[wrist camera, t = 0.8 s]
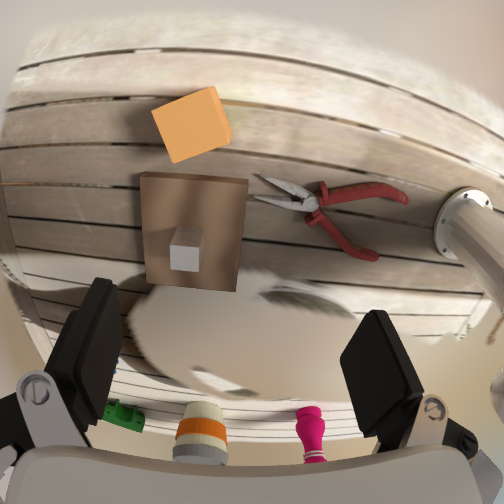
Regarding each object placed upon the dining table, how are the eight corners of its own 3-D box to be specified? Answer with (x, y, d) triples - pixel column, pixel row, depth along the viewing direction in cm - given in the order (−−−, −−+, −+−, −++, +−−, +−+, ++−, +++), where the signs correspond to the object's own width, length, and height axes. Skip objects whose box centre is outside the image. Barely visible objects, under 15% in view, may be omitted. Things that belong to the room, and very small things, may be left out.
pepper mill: (328, 409, 67) (339, 478, 50) (306, 419, 70) (314, 486, 53) (310, 402, 65) (320, 477, 48) (288, 413, 68) (294, 484, 51)
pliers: (270, 139, 34) (271, 144, 32) (406, 191, 37) (414, 198, 35) (242, 221, 40) (242, 231, 38) (371, 257, 43) (377, 267, 41)
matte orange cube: (214, 86, 30) (208, 87, 25) (232, 133, 33) (229, 143, 28) (166, 105, 31) (151, 111, 26) (184, 150, 34) (173, 163, 29)
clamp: (143, 394, 71) (151, 421, 64) (139, 407, 73) (147, 432, 66) (100, 393, 64) (106, 421, 57) (99, 406, 66) (104, 433, 59)
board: (248, 179, 36) (248, 199, 31) (235, 283, 45) (234, 314, 39) (144, 171, 35) (126, 190, 30) (150, 274, 44) (138, 303, 38)
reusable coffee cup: (211, 423, 71) (208, 473, 58) (170, 408, 66) (162, 460, 54) (239, 409, 66) (239, 464, 53) (195, 391, 61) (188, 451, 49)
